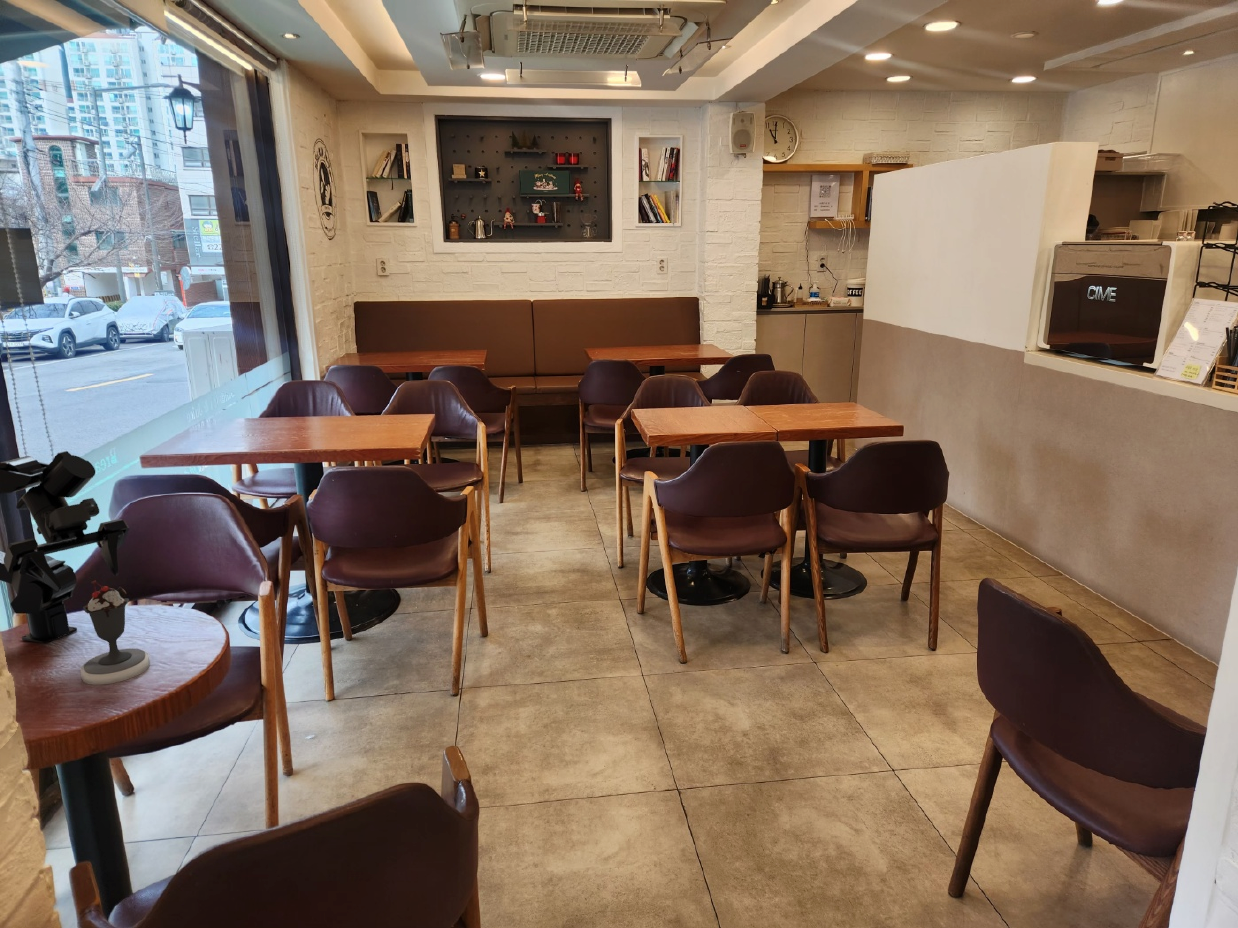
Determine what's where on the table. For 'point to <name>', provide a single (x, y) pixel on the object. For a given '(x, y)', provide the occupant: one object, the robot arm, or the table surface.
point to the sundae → (109, 620)
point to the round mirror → (115, 668)
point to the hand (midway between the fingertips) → (89, 581)
